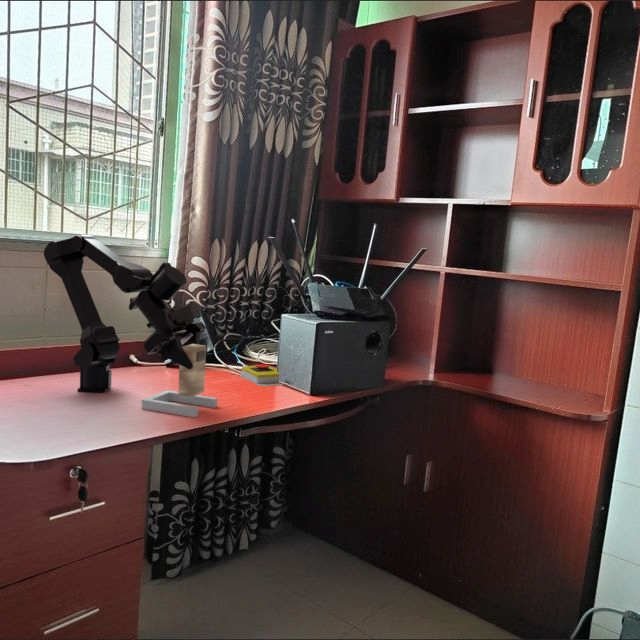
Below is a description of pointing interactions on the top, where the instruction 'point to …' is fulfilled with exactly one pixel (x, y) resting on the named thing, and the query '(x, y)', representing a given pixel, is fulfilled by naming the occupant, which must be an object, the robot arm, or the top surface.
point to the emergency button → (261, 375)
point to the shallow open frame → (161, 404)
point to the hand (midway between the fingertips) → (198, 365)
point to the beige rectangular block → (193, 371)
